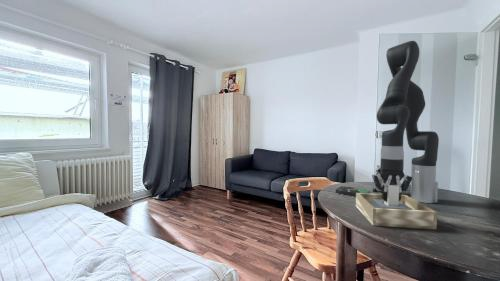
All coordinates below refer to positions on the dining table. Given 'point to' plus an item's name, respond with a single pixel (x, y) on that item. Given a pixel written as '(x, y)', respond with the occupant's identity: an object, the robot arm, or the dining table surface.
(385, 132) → the robot arm
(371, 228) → the dining table surface
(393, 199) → the plug
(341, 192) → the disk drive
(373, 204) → the block
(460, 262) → the dining table surface
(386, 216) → the walled box
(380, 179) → the figurine
